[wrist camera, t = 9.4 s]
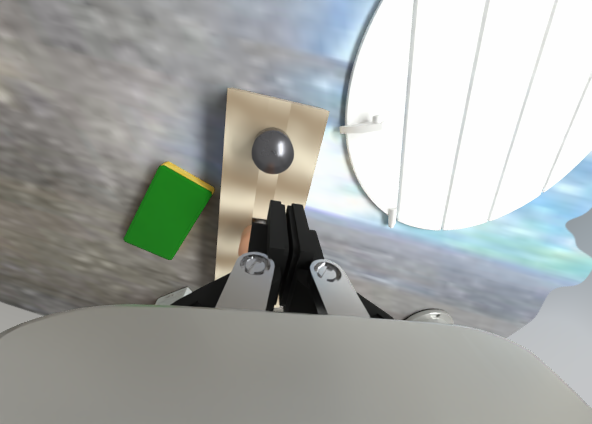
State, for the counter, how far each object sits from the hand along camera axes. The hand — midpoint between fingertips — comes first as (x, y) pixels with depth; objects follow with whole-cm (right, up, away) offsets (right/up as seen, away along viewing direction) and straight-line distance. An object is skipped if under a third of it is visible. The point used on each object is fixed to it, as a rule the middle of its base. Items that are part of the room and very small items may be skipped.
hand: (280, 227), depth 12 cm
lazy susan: (+26, +15, +19) cm, 36 cm away
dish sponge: (-18, +1, +22) cm, 29 cm away
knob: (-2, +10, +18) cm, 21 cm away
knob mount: (-5, +1, +23) cm, 24 cm away
